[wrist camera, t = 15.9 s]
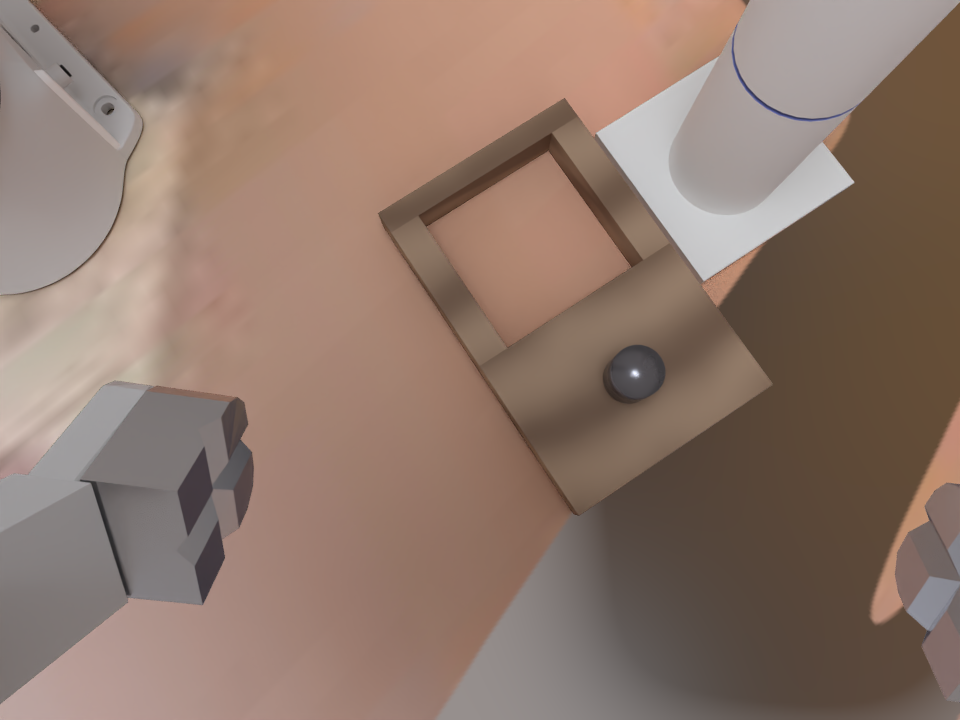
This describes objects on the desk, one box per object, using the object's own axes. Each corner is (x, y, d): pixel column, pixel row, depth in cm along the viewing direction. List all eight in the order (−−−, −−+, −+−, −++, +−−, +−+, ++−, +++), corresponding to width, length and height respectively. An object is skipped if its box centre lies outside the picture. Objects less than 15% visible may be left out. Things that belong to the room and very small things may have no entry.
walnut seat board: (383, 227, 48) (370, 194, 43) (560, 117, 50) (569, 72, 44) (573, 514, 45) (585, 518, 40) (757, 389, 47) (793, 377, 41)
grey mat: (594, 138, 49) (595, 133, 49) (739, 47, 50) (743, 40, 50) (700, 284, 48) (703, 281, 47) (848, 187, 49) (854, 182, 48)
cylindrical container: (646, 147, 48) (815, -201, 24) (735, 92, 49) (990, -304, 24) (710, 235, 47) (955, -33, 23) (800, 178, 48) (1134, -144, 23)
